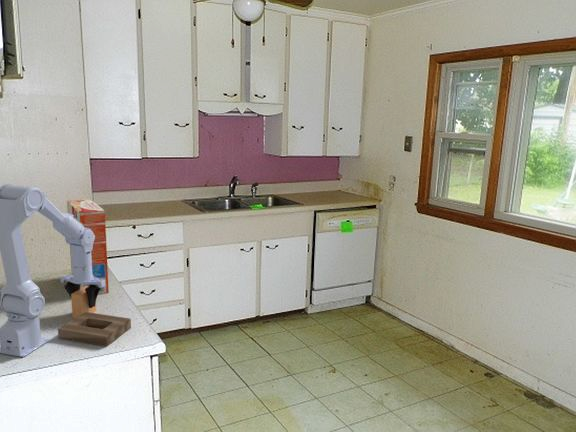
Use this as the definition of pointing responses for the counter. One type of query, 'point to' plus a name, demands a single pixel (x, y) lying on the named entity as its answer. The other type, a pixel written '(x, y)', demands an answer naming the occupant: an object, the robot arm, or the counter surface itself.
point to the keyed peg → (80, 303)
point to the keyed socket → (94, 329)
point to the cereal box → (95, 221)
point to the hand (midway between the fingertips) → (84, 305)
